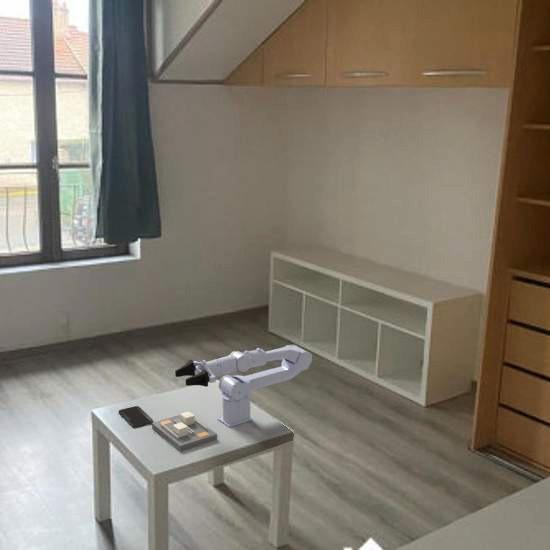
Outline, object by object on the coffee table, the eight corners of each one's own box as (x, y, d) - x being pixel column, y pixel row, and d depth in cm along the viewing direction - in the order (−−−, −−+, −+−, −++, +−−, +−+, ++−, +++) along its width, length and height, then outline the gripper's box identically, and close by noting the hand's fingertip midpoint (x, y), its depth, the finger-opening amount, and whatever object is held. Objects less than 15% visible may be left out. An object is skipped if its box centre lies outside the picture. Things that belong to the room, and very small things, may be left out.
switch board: (187, 417, 258) (187, 410, 257) (217, 439, 242) (217, 431, 241) (152, 428, 250) (151, 420, 249) (180, 451, 234) (180, 443, 233)
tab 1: (189, 419, 252) (188, 411, 251) (194, 423, 249) (194, 415, 248) (180, 421, 250) (179, 413, 249) (185, 426, 247) (185, 418, 246)
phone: (137, 405, 266) (154, 421, 253) (138, 408, 266) (154, 423, 254) (117, 410, 262) (132, 426, 249) (117, 413, 262) (132, 429, 250)
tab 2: (182, 430, 244) (182, 422, 243) (188, 434, 241) (187, 426, 240) (173, 433, 242) (172, 424, 241) (178, 437, 239) (178, 429, 238)
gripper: (206, 349, 252) (170, 359, 245) (227, 364, 240) (190, 375, 233) (207, 368, 254) (171, 378, 247) (227, 383, 242) (191, 394, 235)
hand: (180, 378), depth 240 cm, fingers open, 7 cm apart
